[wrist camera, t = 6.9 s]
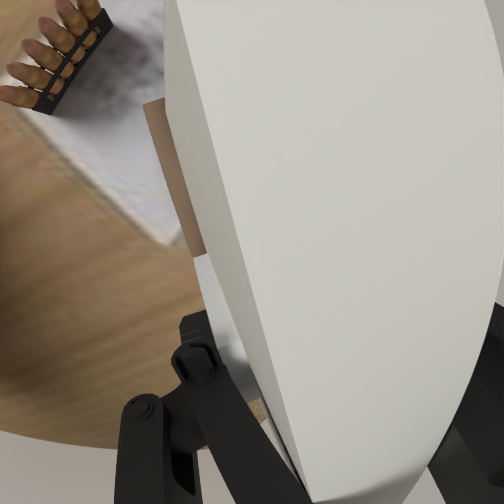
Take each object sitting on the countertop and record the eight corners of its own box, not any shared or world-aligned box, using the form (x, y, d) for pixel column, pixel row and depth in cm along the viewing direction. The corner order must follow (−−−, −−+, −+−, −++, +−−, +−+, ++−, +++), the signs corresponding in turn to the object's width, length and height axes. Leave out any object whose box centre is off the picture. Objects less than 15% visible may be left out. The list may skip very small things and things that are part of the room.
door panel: (251, 380, 18) (326, 549, 8) (165, 111, 12) (165, -41, 1) (294, 363, 19) (389, 519, 8) (232, 93, 12) (482, -2, 2)
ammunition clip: (100, 18, 20) (74, -37, 10) (113, 25, 21) (93, -30, 10) (37, 108, 22) (-23, 99, 11) (50, 115, 23) (-6, 109, 12)
